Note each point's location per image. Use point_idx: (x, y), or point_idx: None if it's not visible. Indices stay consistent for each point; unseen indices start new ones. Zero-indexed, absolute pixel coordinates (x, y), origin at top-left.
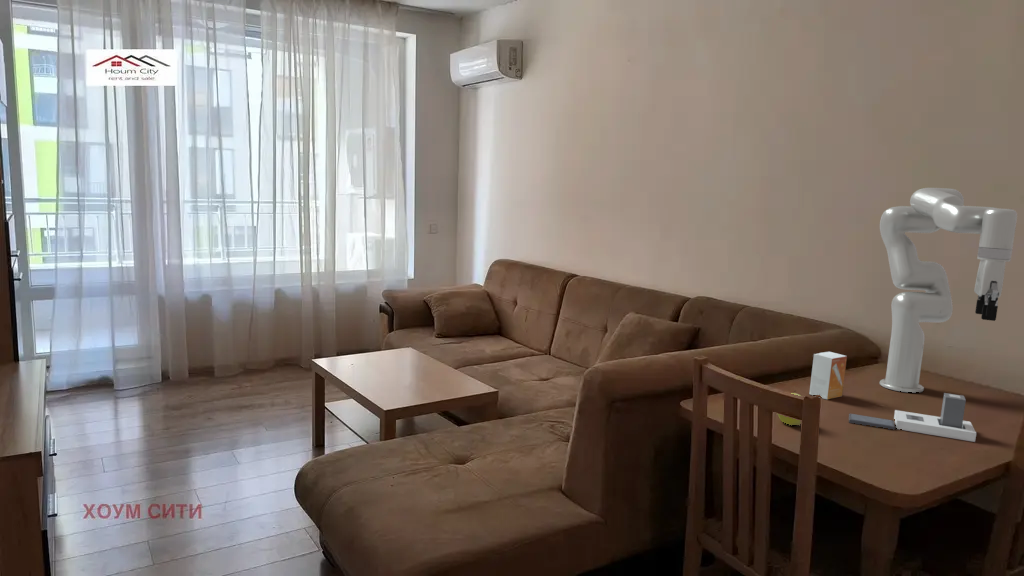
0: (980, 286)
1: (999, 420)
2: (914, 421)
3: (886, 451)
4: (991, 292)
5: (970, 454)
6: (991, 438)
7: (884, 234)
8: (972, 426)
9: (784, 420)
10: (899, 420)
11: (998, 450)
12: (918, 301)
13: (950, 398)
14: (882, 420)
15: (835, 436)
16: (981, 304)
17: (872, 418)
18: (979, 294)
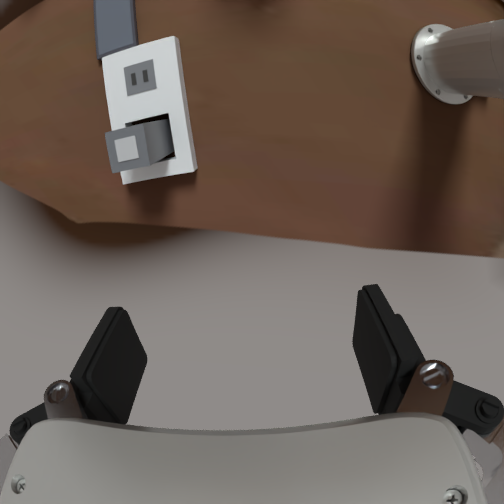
0: (18, 496)
1: (314, 220)
2: (116, 82)
3: (10, 88)
4: (7, 465)
5: (67, 178)
6: (173, 203)
7: None
8: (161, 176)
9: None
10: (103, 60)
11: (115, 213)
12: None
13: (106, 142)
14: (121, 32)
15: (27, 19)
16: (375, 357)
17: (122, 17)
18: (39, 423)
